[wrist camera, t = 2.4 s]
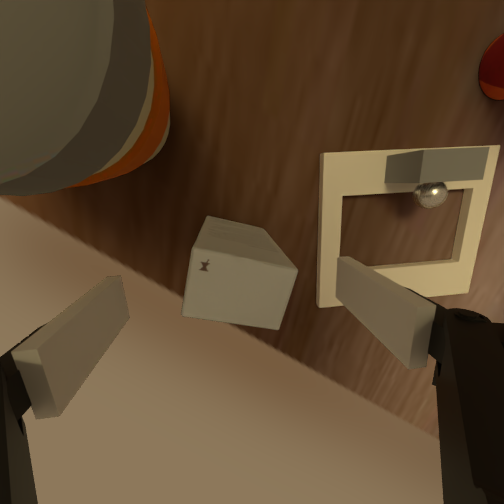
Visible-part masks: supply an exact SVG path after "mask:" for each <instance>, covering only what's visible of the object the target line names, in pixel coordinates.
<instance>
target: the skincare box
mask: <svg viewBox="0 0 504 504" xmlns="http://www.w3.org/2000/svg"><path fill="white" fill-rule="evenodd" d="M297 273H298V269H297V268H296V266H295V265H294V264H293V263H292V262H291V261H290V259H289V258H288V257H287V256H286V255H285V254H284V252H283V251H282V250H281V249H280V248H279V246H278V245H277V244H276V243H275V242H274V240H273V239H272V238H271V237H270V236H269V234H268V233H267V232H266V231H265V230H264V229H263V228H260V227H256V226H251V225H247V224H242V223H238V222H234V221H229V220H225V219H220V218H216V217H212V216H207V217H206V219H205V221H204V223H203V225H202V228H201V230H200V232H199V234H198V237H197V239H196V242H195V243H194V245H193V247H192V250H191V257H190V263H189V269H188V275H187V281H186V286H185V292H184V298H183V305H182V311H181V315H182V316H183V317H192V318H197V319H204V320H211V321H219V322H225V323H233V324H240V325H247V326H254V327H261V328H267V329H274V330H279V328H280V325H281V322H282V319H283V316H284V313H285V310H286V307H287V304H288V301H289V298H290V295H291V292H292V289H293V286H294V283H295V280H296V277H297Z"/></svg>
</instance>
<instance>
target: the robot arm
mask: <svg viewBox="0 0 504 504" xmlns="http://www.w3.org/2000/svg"><path fill="white" fill-rule="evenodd" d="M335 297H336V298H337V299H338V300H339V301H340V302H341V303H342V304H343V305H344V306H345V307H346V308H347V309H348V310H349V311H350V312H351V313H352V314H353V315H354V316H355V317H356V318H357V319H358V320H359V321H360V322H361V323H362V324H363V325H364V326H365V327H366V328H367V329H368V330H369V331H370V332H371V333H372V334H373V335H374V336H375V337H376V338H377V339H378V340H379V341H380V342H381V343H382V344H383V345H384V346H385V347H386V348H387V349H388V350H389V351H390V352H391V353H392V354H393V355H394V356H395V357H396V358H397V359H398V360H400V361H401V362H402V363H403V364H404V365H405V366H406V367H407V368H408V369H415V368H422V367H426V364H427V358H428V354H430V355H431V356H432V357H433V358H435V359H436V366H435V371H434V377H433V382H432V385H435V386H436V392H437V407H438V423H439V438H440V454H441V469H442V483H443V484H442V485H443V500H444V504H504V323H492V322H491V321H490V320H489V319H488V318H487V317H485V316H483V315H482V314H479V313H477V312H474V311H470V310H466V309H458V308H452V309H446V308H444V307H442V306H440V305H439V304H437V303H435V302H433V301H431V300H430V299H427V298H426V297H424V296H422V295H419V293H417V292H415V291H413V290H412V289H409V288H406V287H403V286H401V285H399V284H397V283H396V282H394V281H392V280H390V279H389V278H387V277H385V276H383V275H381V274H380V273H378V272H376V271H374V270H373V269H371V268H369V267H367V266H365V265H364V264H362V263H360V262H358V261H356V260H355V259H353V258H351V257H349V256H345V257H337V273H336V296H335ZM129 318H130V317H129V313H128V307H127V302H126V298H125V294H124V288H123V283H122V279H121V276H110V277H106V278H105V279H104V280H102V281H101V282H100V283H98V284H97V285H96V286H95V287H93V288H92V289H91V290H89V291H88V292H87V293H86V294H84V295H83V296H82V297H81V298H79V299H78V300H77V301H75V302H74V303H73V304H72V305H70V306H69V307H68V308H66V309H65V310H64V311H63V312H61V313H60V314H59V315H57V316H56V317H55V318H54V319H52V320H51V321H50V322H48V323H47V324H45V325H43V326H41V327H39V328H38V329H36V330H35V331H34V332H32V333H31V334H30V335H29V336H28V337H26V338H24V339H23V340H22V341H21V343H18V344H17V345H15V346H14V347H13V348H11V349H10V350H9V351H7V352H6V353H5V354H4V355H2V356H1V357H0V504H38V502H37V495H36V490H35V483H34V477H33V471H32V465H31V458H30V453H29V446H28V440H27V434H26V427H25V423H24V421H23V418H22V415H23V414H24V413H25V412H26V411H27V410H28V409H29V407H30V406H31V407H32V410H33V412H34V415H35V418H36V419H43V418H50V417H58V416H60V415H61V414H62V412H63V411H64V409H65V408H66V407H67V405H68V404H69V402H70V401H71V400H72V398H73V397H74V395H75V394H76V392H77V391H78V390H79V388H80V387H81V385H82V384H83V383H84V381H85V380H86V378H87V377H88V376H89V374H90V373H91V371H92V370H93V369H94V367H95V366H96V364H97V363H98V362H99V360H100V359H101V357H102V356H103V354H104V353H105V352H106V350H107V349H108V348H109V346H110V345H111V343H112V342H113V340H114V339H115V338H116V336H117V335H118V333H119V332H120V330H121V329H122V328H123V326H124V325H125V324H126V322H127V321H128V319H129Z"/></svg>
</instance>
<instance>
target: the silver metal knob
mask: <svg viewBox="0 0 504 504" xmlns="http://www.w3.org/2000/svg"><path fill="white" fill-rule="evenodd" d="M447 196H448V188H447V186H446V185H445V183H443V182H432V183H419V184H418V185H417V186H416V187H415V189H414V191H413V194H412V197H413V201H414V203H415V204H416V205H417V206H419V207H421V208H425V209H431V208H435V207H437V206H439V205H441V204H442V203H443V202H444V201H445V200H446V198H447Z"/></svg>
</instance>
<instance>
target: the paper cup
mask: <svg viewBox="0 0 504 504" xmlns="http://www.w3.org/2000/svg"><path fill="white" fill-rule="evenodd" d="M479 83H480V86H481V89H482V91H483V92H484V93H485V95H487V96H488V97H489V98H491V99H494V100H503V99H504V33H503V34H502V35H500V36H499V37H498V38H496V39H495V40H494V41H493V42H492V43H491V44H490V45H489V47H488V48H487V50H486V51H485V53H484V55H483V57H482V60H481V63H480V67H479Z"/></svg>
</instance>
